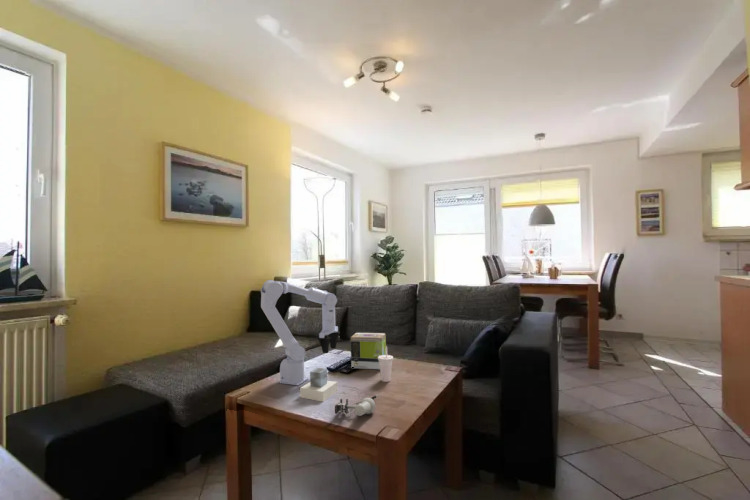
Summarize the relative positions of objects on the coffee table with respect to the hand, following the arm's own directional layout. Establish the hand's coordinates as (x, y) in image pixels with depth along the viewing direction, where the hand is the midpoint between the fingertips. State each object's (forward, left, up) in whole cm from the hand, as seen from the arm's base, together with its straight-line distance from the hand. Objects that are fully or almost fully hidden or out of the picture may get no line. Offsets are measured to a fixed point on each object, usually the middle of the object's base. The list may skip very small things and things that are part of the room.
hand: (329, 350), depth 155 cm
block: (+6, -21, -7) cm, 23 cm away
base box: (+6, -21, -11) cm, 24 cm away
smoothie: (+26, 0, -11) cm, 28 cm away
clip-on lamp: (+26, -29, -11) cm, 40 cm away
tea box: (+13, +15, -11) cm, 23 cm away
